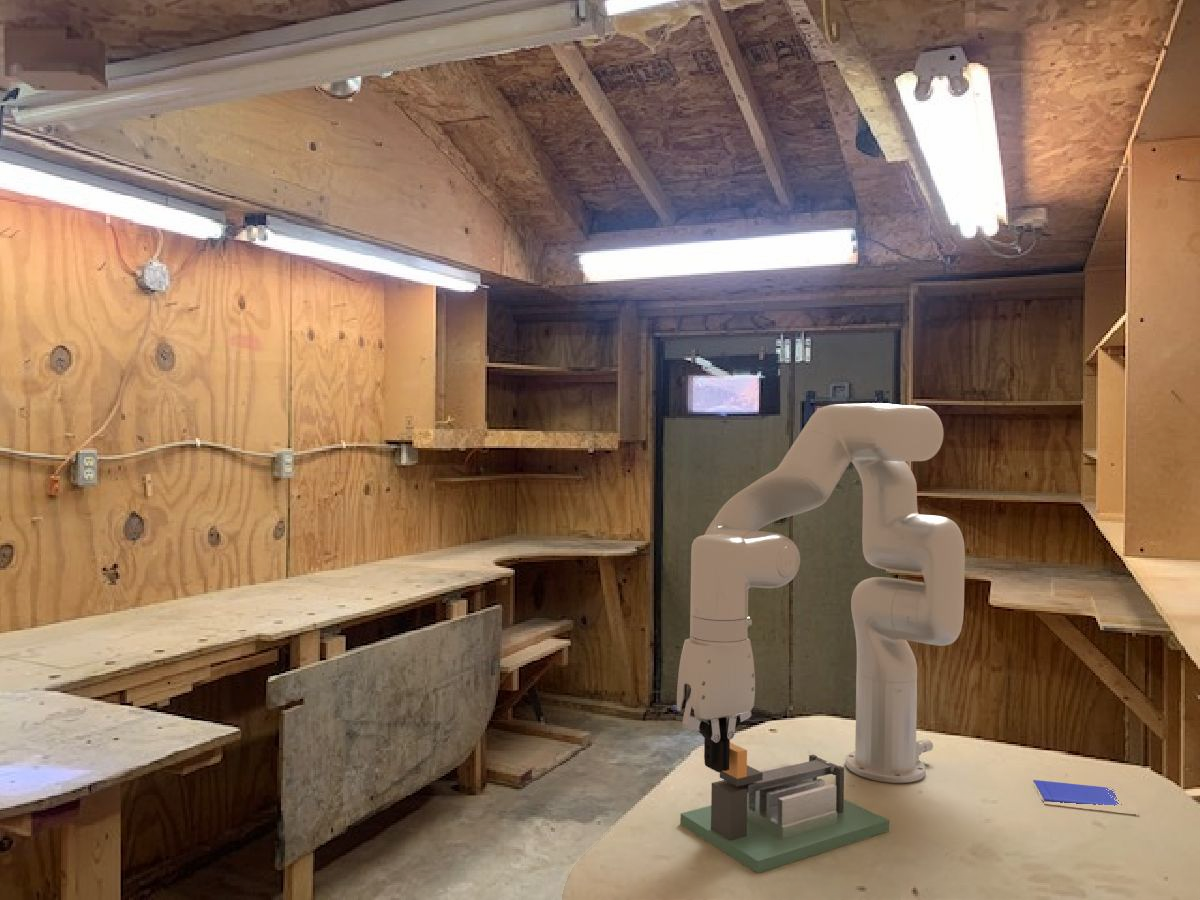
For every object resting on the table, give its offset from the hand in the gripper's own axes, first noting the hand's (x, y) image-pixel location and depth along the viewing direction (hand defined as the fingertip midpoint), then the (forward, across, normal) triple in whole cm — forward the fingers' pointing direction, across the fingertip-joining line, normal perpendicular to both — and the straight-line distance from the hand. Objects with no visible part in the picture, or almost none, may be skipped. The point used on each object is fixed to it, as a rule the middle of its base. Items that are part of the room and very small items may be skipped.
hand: (716, 767), depth 114 cm
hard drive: (+11, -59, +15) cm, 62 cm away
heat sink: (+9, -12, 0) cm, 15 cm away
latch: (+2, -4, 0) cm, 5 cm away
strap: (+4, -13, 0) cm, 13 cm away
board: (+10, -12, 0) cm, 16 cm away
